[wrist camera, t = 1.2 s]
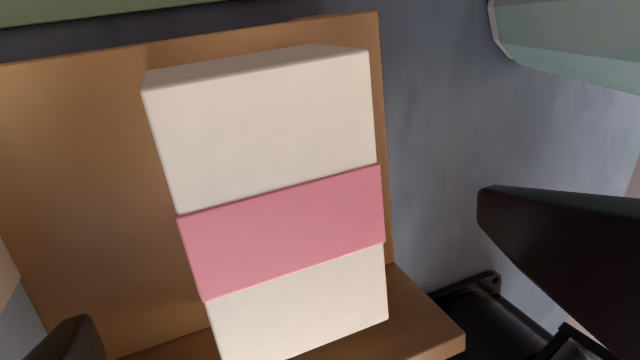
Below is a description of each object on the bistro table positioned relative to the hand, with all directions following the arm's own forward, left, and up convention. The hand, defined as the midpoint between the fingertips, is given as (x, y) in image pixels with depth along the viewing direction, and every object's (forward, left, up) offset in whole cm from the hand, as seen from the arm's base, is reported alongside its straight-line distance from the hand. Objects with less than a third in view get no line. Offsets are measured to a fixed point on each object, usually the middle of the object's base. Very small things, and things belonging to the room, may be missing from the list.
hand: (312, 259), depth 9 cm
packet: (0, 0, -5) cm, 5 cm away
